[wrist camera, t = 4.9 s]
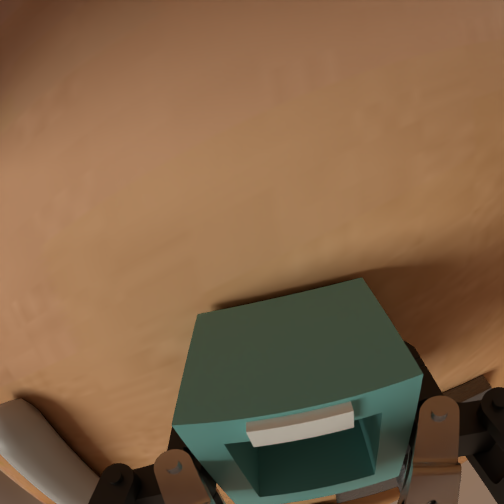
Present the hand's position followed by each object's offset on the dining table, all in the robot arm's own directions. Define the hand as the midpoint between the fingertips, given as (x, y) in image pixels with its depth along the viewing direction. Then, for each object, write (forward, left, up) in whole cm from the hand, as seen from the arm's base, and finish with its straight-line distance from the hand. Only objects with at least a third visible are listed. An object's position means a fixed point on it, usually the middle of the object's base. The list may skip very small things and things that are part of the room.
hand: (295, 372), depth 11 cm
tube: (+14, -18, -2) cm, 23 cm away
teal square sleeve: (0, 0, -1) cm, 1 cm away
